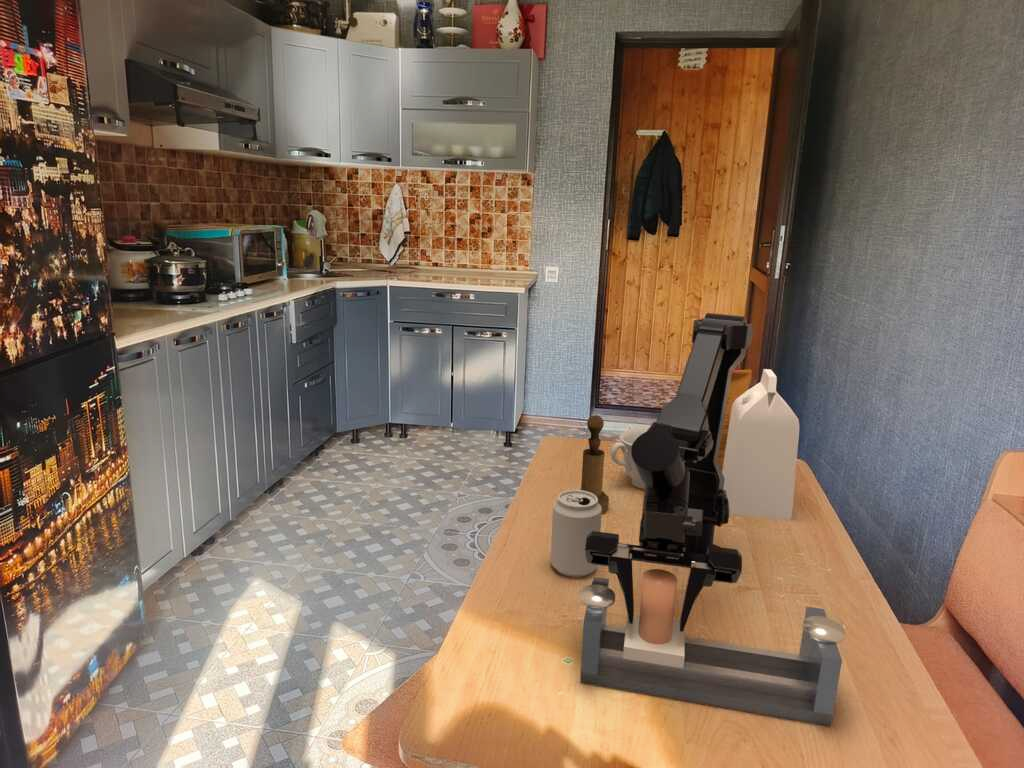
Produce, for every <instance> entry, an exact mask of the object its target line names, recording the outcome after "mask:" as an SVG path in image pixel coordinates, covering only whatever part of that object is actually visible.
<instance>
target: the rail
mask: <svg viewBox="0 0 1024 768" xmlns="http://www.w3.org/2000/svg"><path fill="white" fill-rule="evenodd" d="M609 582H610V578H605V577H599V576H593V577H592V583H591V584H588V585H585V586H583V587H581V588H580V589H579V593H578V599H579V601H580V602H581V603H582V604H583V605H584V606H586V608H585V612H584V617H583V624H582V625H583V627H582V642H581V643H582V644H581V657H580V658H581V659H580V660H581V662H580V678H579V680H580V681H579V683H580V684H584V685H585V684H586V685H591V686H597V687H603V688H608V689H615V690H620V691H626V692H630V693H631V692H632V693H637V694H643V695H649V696H655V697H660V698H665V699H671V700H676V701H678V700H679V701H683V702H688V703H694V704H701V705H708V706H712V707H719V708H724V709H730V710H735V711H740V712H741V711H742V712H747V713H753V714H758V715H763V716H769V717H776V718H780V719H787V720H793V721H799V722H804V723H809V724H816V725H821V726H827V727H831V726H832V722H833V717H834V716H833V715H834V709H835V704H836V698H837V692H838V687H839V682H840V675H841V669H842V663H843V659H842V656H841V653H840V651H839V648H838V645H837V644H840V643H842V642H843V641H844V640H845V634H846V631H845V628H844V627H843V626H842V625H841V624H840V623H839V622H837V621H835V620H833V619H831V618H828V616H827V613H826V610H825V608H818V607H817V608H816V607H810V606H806V607H805V613H804V614H805V615H804V619H803V624H802V633H801V640H800V646H799V654H797V653H791V652H784V651H779V650H772V649H766V648H760V647H752V646H745V645H740V644H739V645H738V644H733V643H726V642H721V641H714V640H707V639H700V638H694V637H688V636H684V653H685V657H684V667H683V668H678V667H672V666H666V665H660V664H654V663H648V662H642V661H636V660H629V659H623V651H624V641H625V633H626V627H622V626H617V625H611V624H607V615H608V614H607V613H608V608H610V607H612V606H613V605H614V604H615V602H616V593H615V592H614V590H613V589H612V588H610V587H609V585H610V583H609Z"/></svg>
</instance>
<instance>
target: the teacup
mask: <svg viewBox="0 0 1024 768" xmlns="http://www.w3.org/2000/svg"><path fill="white" fill-rule="evenodd" d="M648 429H649V428H642V427H641V428H632V429H627V430H623V432H621V433H619V435H618V436H619V440H620V441H621V442H620V441H619V442H615V443H614V444H613V445H612V446H611V448H610V451H609V453H610V458H611V461H612V462H614V463H615V464H616V465H619V466H623V467H624V470H625V473H626V475H627V476H628V477H629V478H631V479H632V480H631V484H632V485H633V486H634V487H636V488H637V489H638V488H639V489H643V490H644V488H645V483H644V482H643V481H642V479H641V477H640V475H639V472H638V470H637V468H636V465H635V463H634V460H633V458H632V454H631V448H632V444H633V442H634V441H635V440H636V439H637V438H638V437H639V436H640V435H641V434H643V433H645V432H647V430H648ZM619 449H620V450H621V453H622V454H623V460H620V459H618V458H617V451H618V450H619Z"/></svg>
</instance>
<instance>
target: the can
mask: <svg viewBox="0 0 1024 768" xmlns="http://www.w3.org/2000/svg"><path fill="white" fill-rule="evenodd" d="M556 498H557V499H556V500H555V501H554V503H553V504H552V516H551V517H552V522H551V539H550V541H551V544H550V546H551V547H550V565H552V567H553V568H554V569H555V570H556V571H557V572H558V573H559V574H562V575H563V576H567V577H572V578H582V577H585V576H588V575H590V574H591V573H593V572H594V571H596V570H597V568H598V566H599V565H593V564H590V563H587V559H586V554H585V546H586V539H587V535H588V534H589V533H590V532H592V531H597V532H601V527H602V508H601V506H600V504H599V503H598V498H597V497H596V495H594V494H592V493H590V492H587V491H583V490H580V489H568V490H564V491H561V492H560V493H558V495H557V497H556Z"/></svg>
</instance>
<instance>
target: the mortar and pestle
mask: <svg viewBox="0 0 1024 768" xmlns="http://www.w3.org/2000/svg"><path fill="white" fill-rule="evenodd" d="M604 425H605V423H604V419H603V417H601V415H597V414H596V415H595V414H593V415H591V416H590V417H588V418H587V420H586V426H587V428H588V430H589V432H590V437H589V438H588V446H589V448H585V449H583V452H582V466H581V467H582V468H581V485H580V488H579V490H583V491H587V492H590V493H592V494H594V495H596V497H597V498H598V503H599V504H600V506H601V508H602V514H605V513H607V512H608V511H609V504H610V503H609V501H610V500H609V499H610V498H609V496H608V495H607V494H606V493H605V492H604V491H603V482H604V481H603V479H604V465H605V451H604V450H602V449H600V446H601V443H602V442H601V441H602V439H600V433H601V431H602V429H603V428H604ZM602 514H601V515H602Z"/></svg>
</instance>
